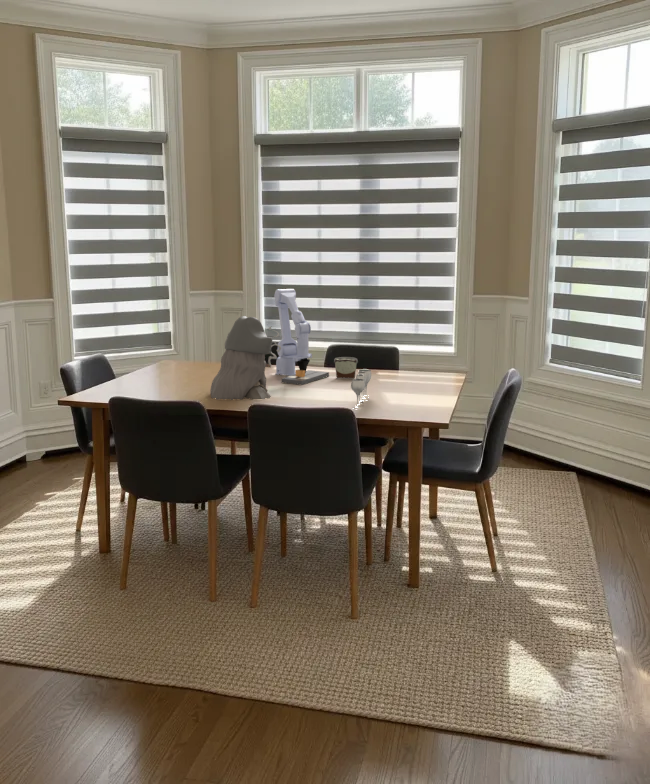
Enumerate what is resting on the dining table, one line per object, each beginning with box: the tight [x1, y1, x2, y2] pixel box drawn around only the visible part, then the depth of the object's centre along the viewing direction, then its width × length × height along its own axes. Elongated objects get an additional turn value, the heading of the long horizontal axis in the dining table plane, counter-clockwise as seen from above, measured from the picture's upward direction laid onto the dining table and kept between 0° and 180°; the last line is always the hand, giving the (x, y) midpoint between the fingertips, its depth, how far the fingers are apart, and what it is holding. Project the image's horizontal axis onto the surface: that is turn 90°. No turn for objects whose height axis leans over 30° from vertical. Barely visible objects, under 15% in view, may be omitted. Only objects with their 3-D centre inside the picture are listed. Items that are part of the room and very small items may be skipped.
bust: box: [210, 315, 281, 401], centre depth 334 cm, size 34×34×35 cm
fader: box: [295, 369, 305, 377], centre depth 364 cm, size 4×2×3 cm, turn 60°
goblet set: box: [350, 368, 372, 410], centre depth 317 cm, size 28×6×13 cm, turn 168°
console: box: [281, 369, 330, 386], centre depth 369 cm, size 12×26×2 cm, turn 150°
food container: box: [333, 356, 359, 379], centre depth 374 cm, size 12×6×10 cm, turn 84°
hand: (303, 373), depth 366 cm, fingers closed
